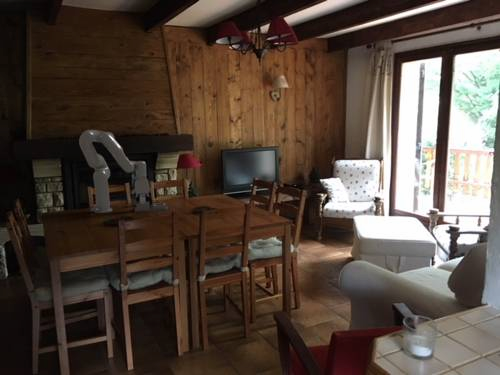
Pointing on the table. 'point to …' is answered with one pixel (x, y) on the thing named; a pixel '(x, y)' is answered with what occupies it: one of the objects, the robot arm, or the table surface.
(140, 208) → the socket panel
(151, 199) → the magazine
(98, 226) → the table surface
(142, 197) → the plug
